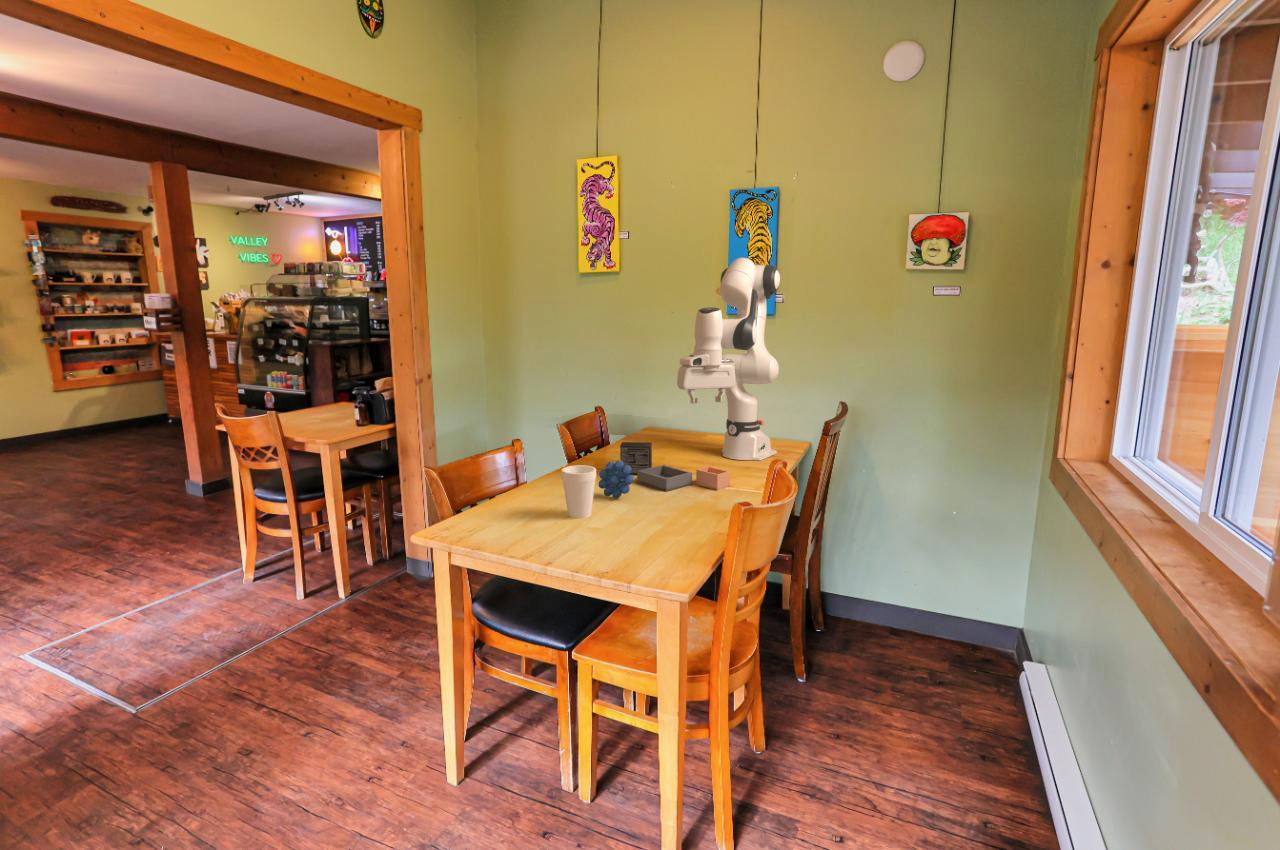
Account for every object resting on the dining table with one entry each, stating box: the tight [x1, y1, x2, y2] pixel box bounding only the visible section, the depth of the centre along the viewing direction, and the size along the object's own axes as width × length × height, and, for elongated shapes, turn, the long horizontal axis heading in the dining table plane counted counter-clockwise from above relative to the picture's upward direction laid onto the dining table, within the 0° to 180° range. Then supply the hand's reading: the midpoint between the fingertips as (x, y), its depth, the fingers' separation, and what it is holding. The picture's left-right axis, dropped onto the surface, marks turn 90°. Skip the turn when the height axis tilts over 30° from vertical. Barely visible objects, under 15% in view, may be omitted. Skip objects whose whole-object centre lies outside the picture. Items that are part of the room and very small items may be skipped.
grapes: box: [598, 459, 635, 499], centre depth 193 cm, size 12×7×12 cm, turn 66°
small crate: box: [695, 465, 731, 491], centre depth 206 cm, size 6×9×5 cm, turn 42°
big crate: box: [636, 464, 693, 493], centre depth 208 cm, size 12×14×4 cm
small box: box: [619, 441, 653, 476], centre depth 220 cm, size 11×6×10 cm, turn 84°
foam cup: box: [561, 464, 597, 519], centre depth 177 cm, size 10×9×13 cm
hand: (706, 402), depth 205 cm, fingers open, 8 cm apart
